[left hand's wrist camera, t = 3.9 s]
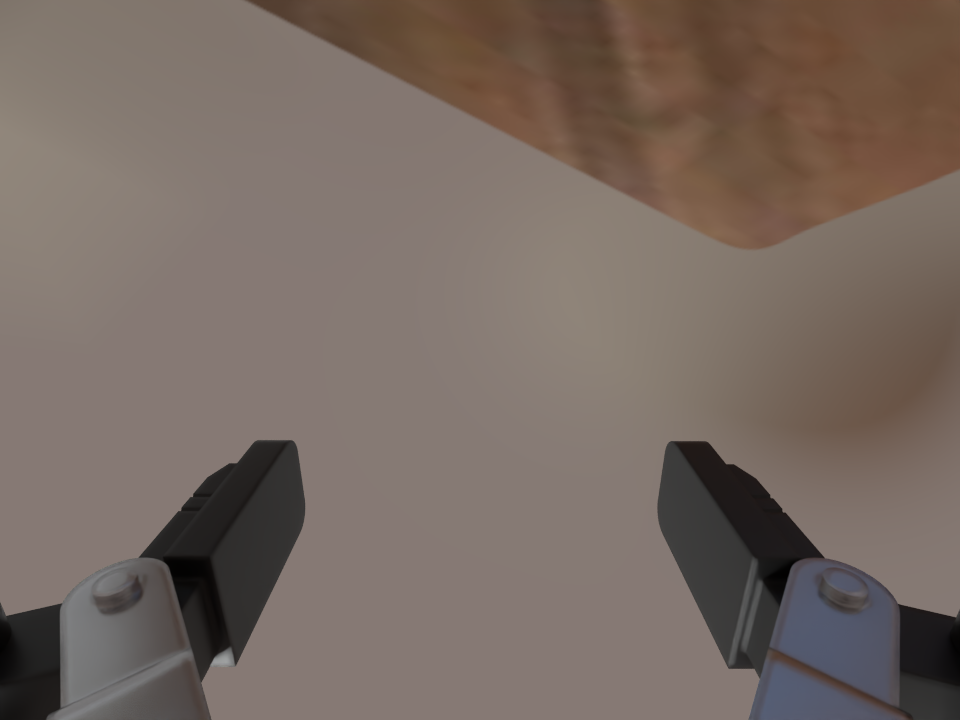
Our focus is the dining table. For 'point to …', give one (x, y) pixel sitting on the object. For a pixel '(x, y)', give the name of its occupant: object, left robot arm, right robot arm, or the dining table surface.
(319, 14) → the dining table surface
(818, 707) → the left robot arm
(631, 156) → the dining table surface
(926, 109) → the dining table surface
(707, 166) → the dining table surface
